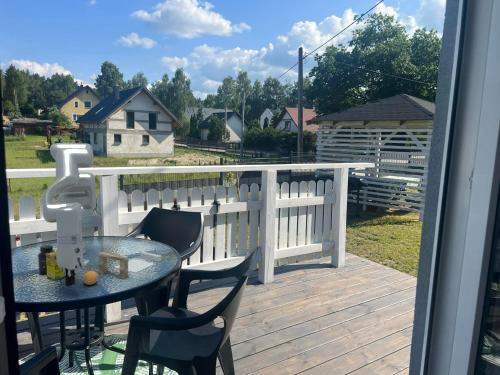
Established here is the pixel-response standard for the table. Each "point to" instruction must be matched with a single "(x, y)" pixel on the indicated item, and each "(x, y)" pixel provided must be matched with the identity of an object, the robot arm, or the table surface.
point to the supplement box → (53, 267)
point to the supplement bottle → (43, 258)
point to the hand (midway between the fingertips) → (70, 284)
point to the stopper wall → (151, 256)
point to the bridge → (122, 259)
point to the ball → (90, 277)
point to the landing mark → (137, 265)
